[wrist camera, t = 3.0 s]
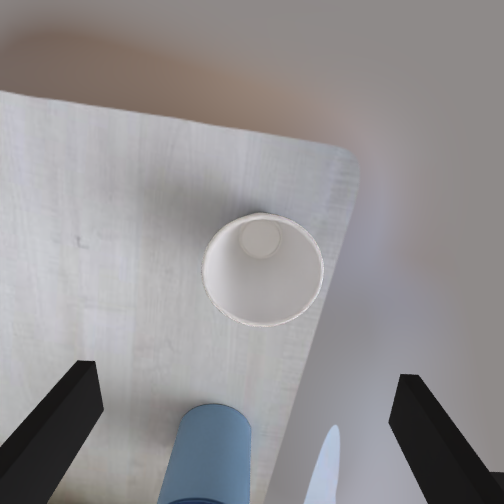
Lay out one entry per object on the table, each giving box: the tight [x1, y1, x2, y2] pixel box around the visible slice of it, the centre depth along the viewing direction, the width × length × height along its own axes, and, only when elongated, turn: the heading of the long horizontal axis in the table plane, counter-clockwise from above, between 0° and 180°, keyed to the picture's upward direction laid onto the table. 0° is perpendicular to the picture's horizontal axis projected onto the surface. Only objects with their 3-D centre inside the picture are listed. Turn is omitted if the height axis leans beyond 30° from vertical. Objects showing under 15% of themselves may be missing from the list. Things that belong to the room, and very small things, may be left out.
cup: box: [201, 212, 324, 327], centre depth 28 cm, size 10×10×11 cm
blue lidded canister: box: [157, 404, 251, 504], centre depth 36 cm, size 12×12×14 cm
